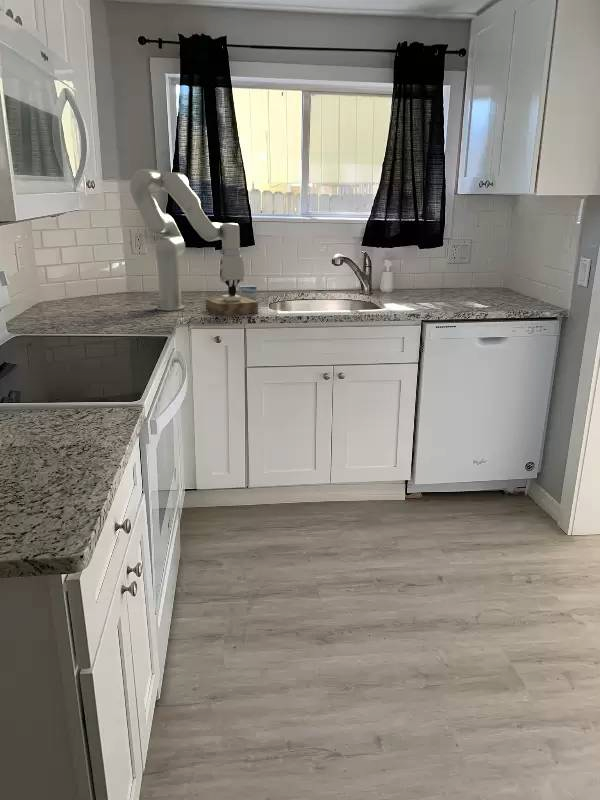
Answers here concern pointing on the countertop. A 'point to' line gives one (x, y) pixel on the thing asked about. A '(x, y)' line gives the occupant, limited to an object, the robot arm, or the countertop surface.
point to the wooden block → (231, 306)
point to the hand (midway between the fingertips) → (232, 295)
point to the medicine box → (248, 292)
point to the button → (231, 298)
